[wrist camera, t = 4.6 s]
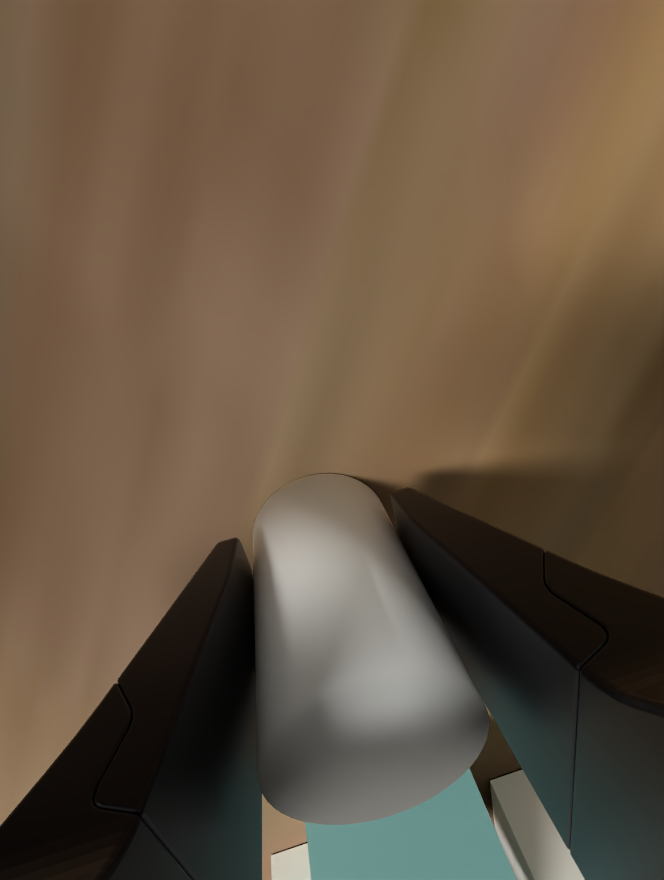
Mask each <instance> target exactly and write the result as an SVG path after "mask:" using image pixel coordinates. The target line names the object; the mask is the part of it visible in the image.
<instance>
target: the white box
mask: <svg viewBox="0 0 664 880" xmlns="http://www.w3.org/2000/svg"><path fill="white" fill-rule="evenodd" d="M490 786H491V796H492V806H493V816H494V826H495V830H496V832H497V835H498V837H499V840H500V842H501V844H502V847H503V849H504V851H505V854H506V856H507V858H508V861H509V863H510V866H511V868H512V870H513V873H514V875H515V877H516V880H585V879H584V877H583V876H582V874H581V872H580V870H579V868H578V867H577V865H576V863H575V861H574V860H573V858H572V856H571V854H570V850H569V849H568V848H567V847H566V845H565V843H564V842H563V840H562V838H561V836H560V835H559V833H558V831H557V829H556V828H555V826H554V824H553V822H552V821H551V819H550V817H549V815H548V813H547V812H546V810H545V808H544V806H543V805H542V803H541V801H540V799H539V798H538V796H537V794H536V792H535V791H534V789H533V787H532V785H531V784H530V782H529V780H528V778H527V776H526V775H525V773H524V771H523V769H522V770H519V771H517V772H514V773H511V774H508V775H505V776H502V777H499V778H496V779H493V780H490ZM271 869H272V880H311V874H310V864H309V854H308V844H307V843H306V844H303V845H300V846H297V847H294V848H291V849H289V850H286V851H283V852H280V853H277V854H274V855H271Z"/></svg>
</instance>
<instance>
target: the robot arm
mask: <svg viewBox="0 0 664 880" xmlns="http://www.w3.org/2000/svg"><path fill="white" fill-rule="evenodd" d="M390 499H391V504H392V509H393V515H394V520H395V525H396V529H397V532H398V534H399V537H400V539H401V542H402V544H403V546H404V548H405V550H406V552H407V554H408V556H409V558H410V560H411V561H412V563H413V565H414V567H415V569H416V571H417V573H418V575H419V577H420V579H421V581H422V583H423V585H424V587H425V589H426V591H427V593H428V595H429V597H430V599H431V601H432V602H433V604H434V606H435V608H436V610H437V612H438V614H439V616H440V618H441V620H442V622H443V624H444V626H445V628H446V630H447V632H448V634H449V636H450V638H451V640H452V642H453V643H454V645H455V647H456V649H457V651H458V653H459V655H460V657H461V659H462V661H463V663H464V665H465V667H466V669H467V671H468V673H469V675H470V677H471V679H472V681H473V683H474V684H475V686H476V688H477V690H478V692H479V694H480V695H481V697H482V699H483V701H484V702H485V704H486V706H487V708H488V710H489V711H490V713H491V715H492V717H493V718H494V720H495V722H496V724H497V725H498V727H499V729H500V731H501V732H502V734H503V736H504V738H505V739H506V741H507V743H508V745H509V747H510V748H511V750H512V752H513V754H514V755H515V757H516V759H517V761H518V762H519V764H520V766H521V768H522V769H523V771H524V773H525V775H526V776H527V778H528V780H529V782H530V784H531V785H532V787H533V789H534V791H535V792H536V794H537V796H538V798H539V799H540V801H541V803H542V805H543V806H544V808H545V810H546V812H547V813H548V815H549V817H550V819H551V821H552V822H553V824H554V826H555V828H556V829H557V831H558V833H559V835H560V836H561V838H562V840H563V842H564V843H565V845H566V847H567V848H568V849H569V850H570V854H571V856H572V858H573V860H574V861H575V863H576V865H577V867H578V868H579V870H580V872H581V874H582V876H583V877H584V879H585V880H664V598H663V597H660V596H658V595H655V594H652V593H649V592H647V591H644V590H641V589H638V588H636V587H633V586H630V585H628V584H625V583H623V582H620V581H617V580H615V579H612V578H610V577H607V576H604V575H602V574H599V573H597V572H594V571H592V570H590V569H587V568H585V567H583V566H580V565H578V564H576V563H574V562H571V561H569V560H567V559H564V558H562V557H560V556H558V555H556V554H554V553H551V552H549V551H545V552H544V550H543V549H542V548H540V547H538V546H536V545H534V544H531V543H529V542H527V541H525V540H523V539H521V538H518V537H516V536H514V535H512V534H510V533H507V532H505V531H503V530H501V529H499V528H497V527H494V526H492V525H490V524H488V523H486V522H483V521H481V520H479V519H477V518H475V517H473V516H470V515H468V514H466V513H464V512H462V511H460V510H457V509H455V508H453V507H451V506H449V505H446V504H444V503H442V502H440V501H438V500H436V499H433V498H431V497H429V496H427V495H425V494H423V493H420V492H418V491H416V490H414V489H412V488H408V487H407V488H403V489H400V490H397V491H393V492H392V493H391V495H390ZM0 880H262V792H261V789H260V786H259V781H258V761H257V715H256V668H255V622H254V579H253V574H252V570H251V567H250V564H249V562H248V559H247V557H246V554H245V552H244V549H243V547H242V544H241V542H240V540H239V539H238V538H232V539H228V540H225V541H222V542H219V543H218V544H217V545H216V546H215V547H214V549H213V550H212V551H211V553H210V554H209V556H208V557H207V558H206V560H205V561H204V562H203V564H202V565H201V566H200V568H199V569H198V571H197V572H196V573H195V575H194V576H193V577H192V579H191V580H190V581H189V583H188V584H187V586H186V587H185V588H184V590H183V591H182V592H181V594H180V595H179V596H178V598H177V599H176V601H175V602H174V603H173V605H172V606H171V607H170V609H169V610H168V612H167V613H166V614H165V616H164V617H163V618H162V620H161V621H160V622H159V624H158V625H157V627H156V628H155V629H154V631H153V632H152V633H151V635H150V636H149V637H148V639H147V640H146V642H145V643H144V644H143V646H142V647H141V648H140V650H139V651H138V652H137V654H136V655H135V657H134V658H133V659H132V661H131V662H130V663H129V665H128V666H127V667H126V669H125V670H124V672H123V673H122V674H121V676H120V677H119V678H118V684H117V683H116V684H114V685H113V686H112V688H111V689H110V690H109V692H108V693H107V695H106V696H105V697H104V699H103V700H102V701H101V703H100V704H99V705H98V707H97V708H96V709H95V711H94V712H93V713H92V715H91V716H90V717H89V718H88V720H87V721H86V722H85V724H84V725H83V726H82V728H81V729H80V730H79V732H78V733H77V734H76V736H75V737H74V738H73V739H72V740H71V742H70V743H69V744H68V745H67V747H66V748H65V749H64V750H63V751H62V753H61V754H60V755H59V756H58V758H57V759H56V760H55V761H54V762H53V764H52V765H51V766H50V767H49V769H48V770H47V771H46V772H45V773H44V775H43V776H42V777H41V778H40V779H39V781H38V782H37V783H36V784H35V785H34V787H33V788H32V789H31V790H30V791H29V792H28V794H27V795H26V796H25V797H24V798H23V800H22V801H21V802H20V803H19V804H18V806H17V807H16V808H15V809H14V810H13V811H12V813H11V814H10V815H9V816H8V817H7V819H6V820H5V821H4V822H3V823H2V825H1V826H0Z"/></svg>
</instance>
